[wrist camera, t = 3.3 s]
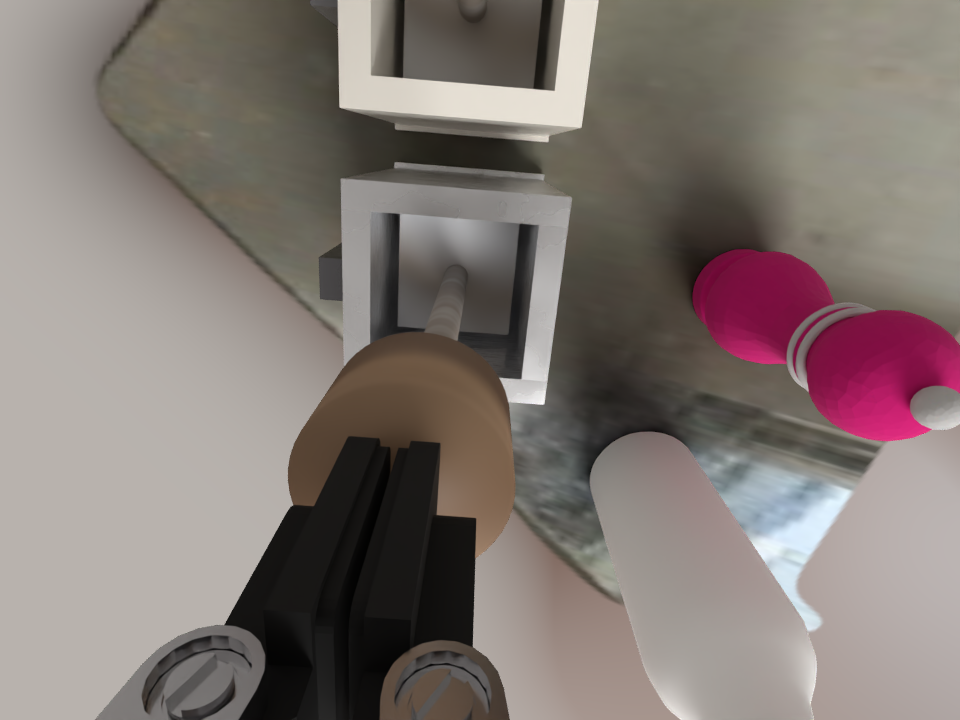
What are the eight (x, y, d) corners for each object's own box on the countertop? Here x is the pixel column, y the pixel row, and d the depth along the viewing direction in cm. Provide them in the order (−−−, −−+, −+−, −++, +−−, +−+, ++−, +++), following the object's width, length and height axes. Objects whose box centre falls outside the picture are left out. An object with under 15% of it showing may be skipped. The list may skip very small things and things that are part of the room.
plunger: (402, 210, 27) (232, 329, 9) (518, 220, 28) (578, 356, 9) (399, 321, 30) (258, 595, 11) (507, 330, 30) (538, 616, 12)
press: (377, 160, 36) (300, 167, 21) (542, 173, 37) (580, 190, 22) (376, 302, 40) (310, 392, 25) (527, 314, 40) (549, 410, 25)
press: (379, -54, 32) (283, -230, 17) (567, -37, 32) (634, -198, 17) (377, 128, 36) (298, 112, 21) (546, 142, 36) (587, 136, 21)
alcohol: (668, 408, 43) (1004, 890, 15) (708, 488, 46) (1056, 1023, 18) (569, 455, 45) (705, 965, 17) (614, 530, 47) (795, 1077, 19)
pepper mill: (665, 309, 40) (819, 449, 21) (726, 222, 38) (959, 294, 19) (742, 353, 41) (952, 522, 22) (806, 272, 39) (1099, 384, 20)
